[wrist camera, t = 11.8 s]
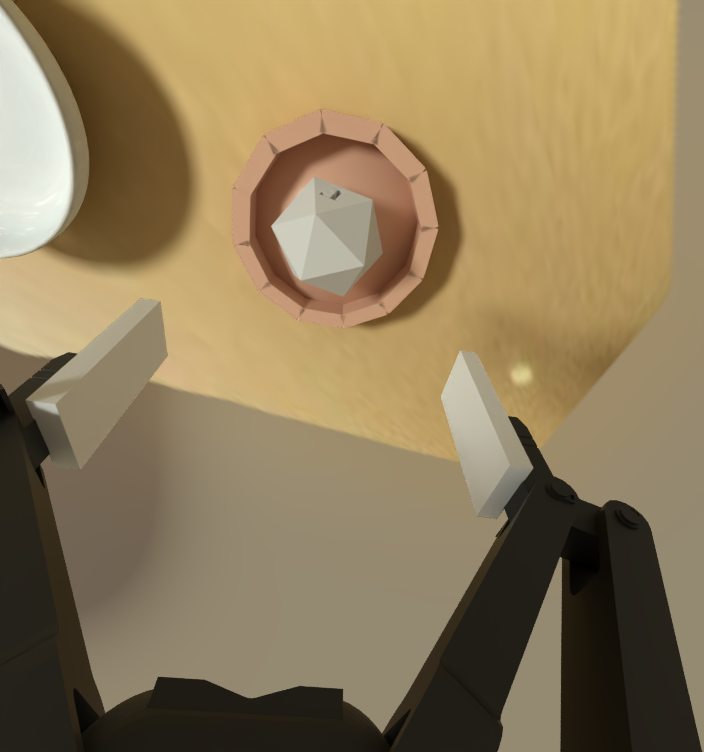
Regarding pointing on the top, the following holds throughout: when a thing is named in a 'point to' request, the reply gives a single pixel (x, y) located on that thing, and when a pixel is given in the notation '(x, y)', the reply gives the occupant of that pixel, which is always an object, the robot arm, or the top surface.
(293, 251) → the die
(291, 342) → the top surface
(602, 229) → the top surface
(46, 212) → the serving bowl
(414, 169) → the tray
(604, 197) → the top surface
